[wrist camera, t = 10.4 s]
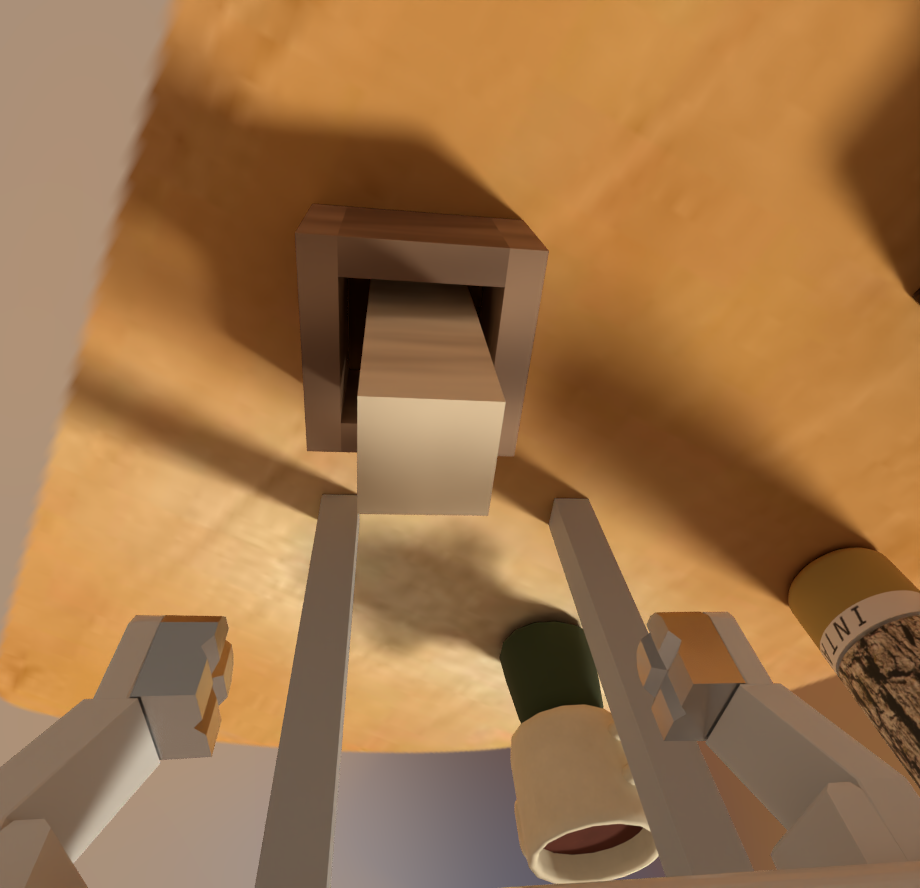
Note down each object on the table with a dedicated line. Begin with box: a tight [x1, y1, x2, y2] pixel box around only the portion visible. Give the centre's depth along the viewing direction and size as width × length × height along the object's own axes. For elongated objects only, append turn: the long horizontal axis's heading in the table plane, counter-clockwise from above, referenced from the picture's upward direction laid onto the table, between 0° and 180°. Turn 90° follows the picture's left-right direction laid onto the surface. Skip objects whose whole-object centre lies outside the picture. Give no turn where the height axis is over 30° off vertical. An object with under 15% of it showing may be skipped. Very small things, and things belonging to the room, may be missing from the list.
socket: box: [295, 204, 549, 456], centre depth 25 cm, size 9×9×5 cm
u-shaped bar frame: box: [255, 494, 754, 888], centre depth 21 cm, size 6×16×27 cm, turn 85°
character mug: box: [500, 621, 659, 884], centre depth 35 cm, size 11×7×13 cm, turn 146°
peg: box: [357, 279, 506, 516], centre depth 22 cm, size 4×4×12 cm
